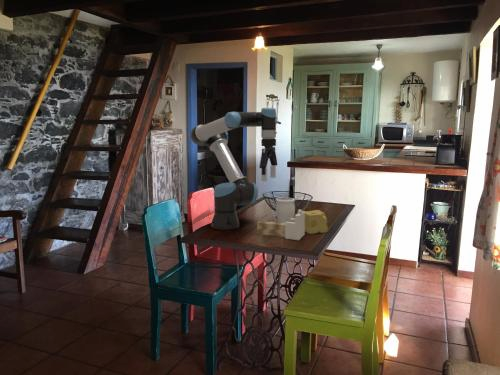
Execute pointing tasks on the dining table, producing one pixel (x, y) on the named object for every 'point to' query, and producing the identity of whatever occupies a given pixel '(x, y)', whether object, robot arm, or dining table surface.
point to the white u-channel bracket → (295, 226)
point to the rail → (271, 228)
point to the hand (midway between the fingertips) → (268, 179)
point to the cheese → (315, 222)
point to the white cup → (285, 209)
